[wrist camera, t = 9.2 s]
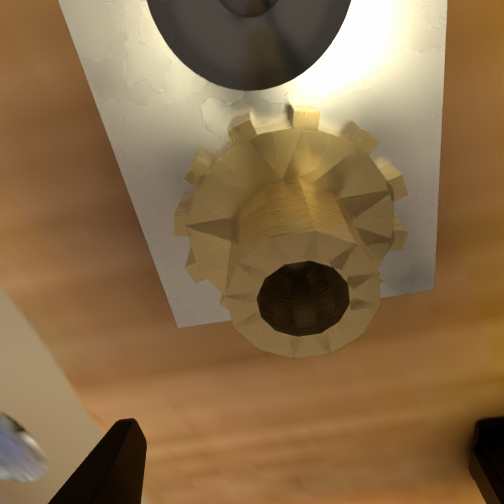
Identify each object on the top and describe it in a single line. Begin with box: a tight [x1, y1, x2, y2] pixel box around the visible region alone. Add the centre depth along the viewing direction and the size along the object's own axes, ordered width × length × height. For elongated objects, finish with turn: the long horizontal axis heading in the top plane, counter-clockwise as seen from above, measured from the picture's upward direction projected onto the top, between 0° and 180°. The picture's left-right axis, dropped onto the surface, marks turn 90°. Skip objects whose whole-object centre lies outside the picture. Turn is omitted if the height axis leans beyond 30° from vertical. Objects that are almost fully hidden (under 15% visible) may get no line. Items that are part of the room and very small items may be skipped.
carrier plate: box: [58, 0, 447, 328], centre depth 15 cm, size 14×20×5 cm
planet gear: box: [174, 105, 408, 359], centre depth 16 cm, size 10×10×6 cm
